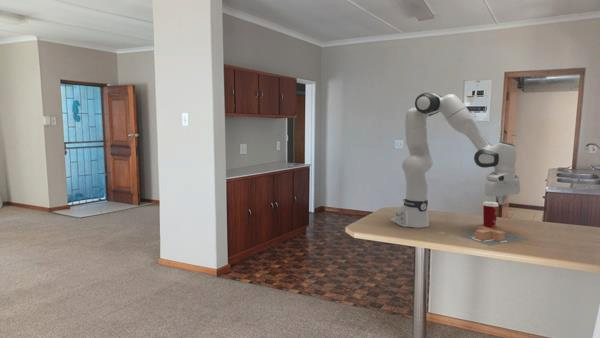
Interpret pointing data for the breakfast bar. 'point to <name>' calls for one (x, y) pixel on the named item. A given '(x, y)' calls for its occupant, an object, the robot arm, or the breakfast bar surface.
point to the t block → (489, 234)
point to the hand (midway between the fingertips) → (501, 204)
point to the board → (492, 242)
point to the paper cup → (490, 214)
